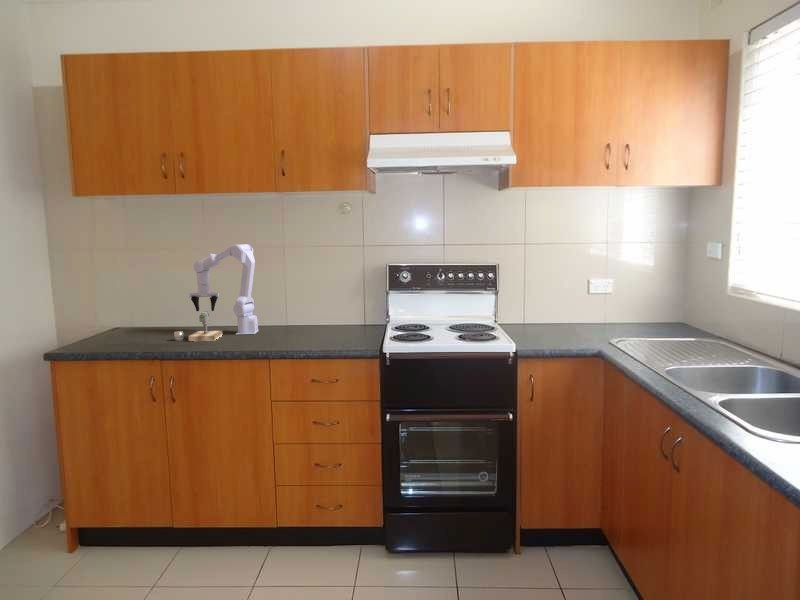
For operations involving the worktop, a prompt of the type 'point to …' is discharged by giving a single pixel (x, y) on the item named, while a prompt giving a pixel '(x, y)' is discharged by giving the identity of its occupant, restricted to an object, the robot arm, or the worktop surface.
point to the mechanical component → (204, 319)
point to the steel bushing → (178, 335)
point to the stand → (205, 336)
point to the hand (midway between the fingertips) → (205, 310)
